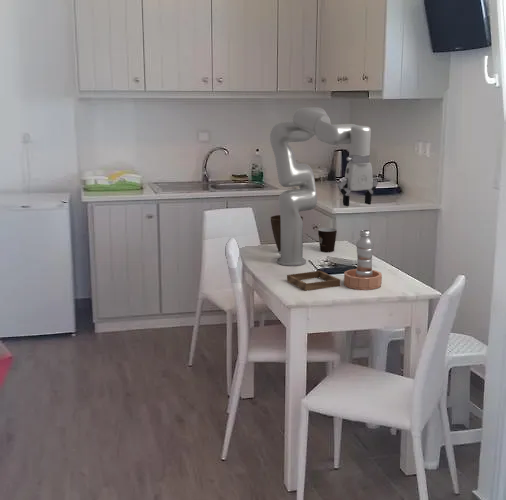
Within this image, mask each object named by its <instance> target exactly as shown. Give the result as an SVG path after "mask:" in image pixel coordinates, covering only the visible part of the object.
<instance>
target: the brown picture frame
mask: <svg viewBox="0 0 506 500" xmlns="http://www.w3.org/2000/svg"><path fill="white" fill-rule="evenodd" d="M318 278H319V279H321V280H320V281H315V282H305V281H303V280H312V279H318ZM286 282H288V283H290V284H292V285H293V286H296V287H297V288H300V289H301V290H303V291H305V292H307V290H308V291H313V290H315V291H316V290H321V289H329V288H335V287H341V279H339V278H338V277H336V276H333V275H331V274H328V273H327V272H325V271H322V270H316V271H307V272H301V273H292V274H286Z"/></svg>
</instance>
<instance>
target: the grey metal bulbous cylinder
mask: <svg viewBox="0 0 506 500" xmlns="http://www.w3.org/2000/svg"><path fill="white" fill-rule="evenodd" d="M359 236H360V237H359V239H358V240H357V241H356V246H355V247H356V257H357V258H356V259H357V260H356V261H357V263H356V269H357V270H356V274H355V277H359V278H370V277H373V272H372V270H373V263H372V262H373V253H374V248H375V247H374V245H375V244H374V241H373V239H372V238H371V230H367V229H362V230H360V231H359Z"/></svg>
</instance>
